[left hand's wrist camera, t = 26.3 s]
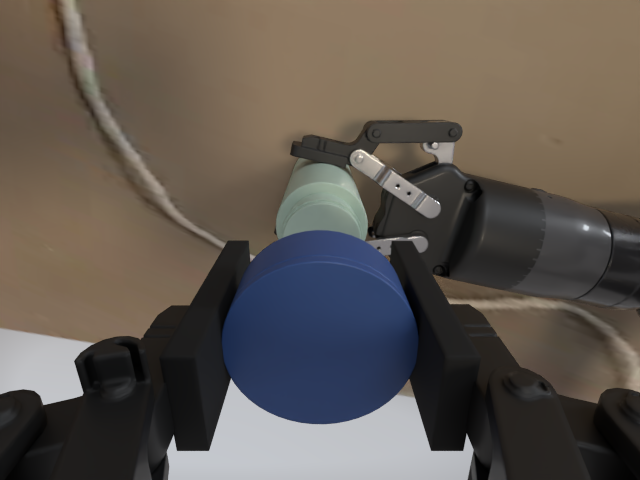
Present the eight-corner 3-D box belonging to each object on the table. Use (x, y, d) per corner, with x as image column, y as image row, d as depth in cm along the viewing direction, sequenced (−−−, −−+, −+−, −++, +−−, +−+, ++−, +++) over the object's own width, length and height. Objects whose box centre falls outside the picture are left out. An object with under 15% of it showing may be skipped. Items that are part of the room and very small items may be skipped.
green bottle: (310, 136, 32) (302, 172, 17) (361, 166, 33) (392, 223, 18) (282, 186, 33) (253, 257, 19) (331, 214, 34) (338, 302, 20)
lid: (204, 310, 12) (181, 356, 10) (314, 192, 11) (312, 218, 9) (324, 395, 14) (325, 451, 12) (436, 301, 12) (461, 345, 10)
